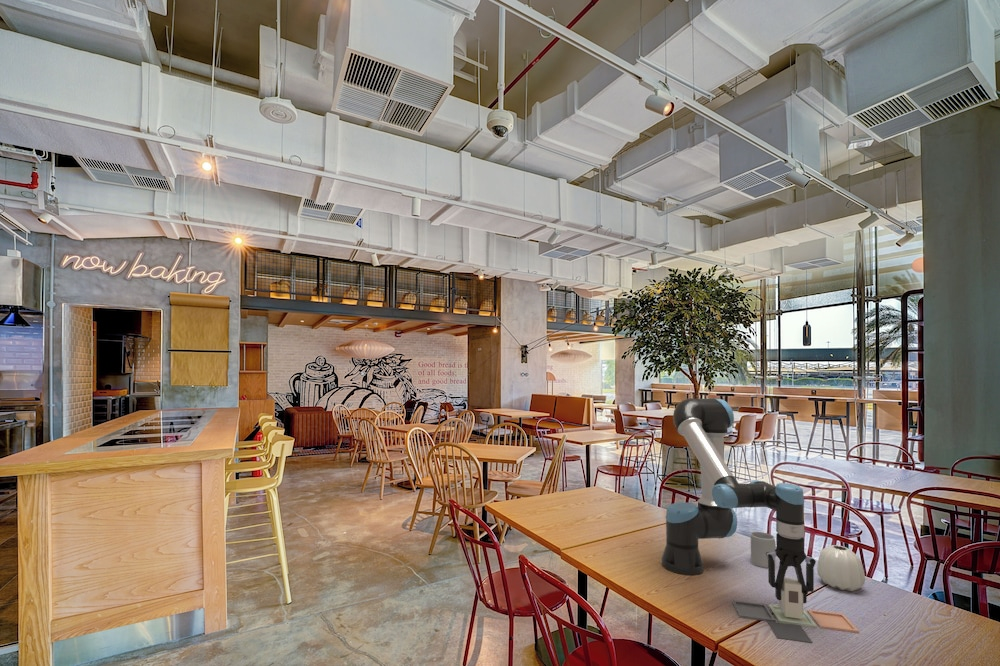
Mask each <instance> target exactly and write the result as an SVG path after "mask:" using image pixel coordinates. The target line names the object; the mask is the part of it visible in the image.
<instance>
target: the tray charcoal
mask: <svg viewBox="0 0 1000 666" xmlns="http://www.w3.org/2000/svg"><path fill="white" fill-rule="evenodd" d="M731 603H732V605H733V607H734V609H735V611H736V613H737V615H738V616H739V618H740V619H747V620H753V621H754V620H755V621H763V622H767V621H770V622H777V619H776V617H775V616H774V614H773V612H772V611H771V609H770V608H769V606H767V604H765V603H759V602H751V601H742V600H736V599H735V600H734V599H732V600H731Z"/></svg>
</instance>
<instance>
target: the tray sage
mask: <svg viewBox="0 0 1000 666" xmlns="http://www.w3.org/2000/svg"><path fill="white" fill-rule="evenodd" d="M768 608H769V610H770V611H771V613H772V615H773V616H774V618H775V619H776V621H778V623H785V624H793V625H800V626H801V627H806V628H816V629H817V628H818V627H817V626H818V624H817V623H816V622H815V621H814V619H813V618H812V617H811V616H810V614H809V613H808V612H807V611H806V610H805V608H803V615H802V619H800V618H792V617H785V615H784V614H783V613H782V612H781V610H780V609H779V605H775V604H768Z"/></svg>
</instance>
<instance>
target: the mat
mask: <svg viewBox="0 0 1000 666" xmlns="http://www.w3.org/2000/svg"><path fill="white" fill-rule="evenodd" d="M766 622H767V624H768V626H769V627H770V629H771V631H772V632H773V634H774V636H775V637H776V639H780V640H786V641H793V642H801V643H809V644H813V641H812V640H811V637H810V636H809V635H808V634H807V632H806V631H805V630H804V628H803V626H800V625H793V624H785V623H779V622H777V621H776V622H770V621H766Z"/></svg>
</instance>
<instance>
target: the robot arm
mask: <svg viewBox="0 0 1000 666" xmlns="http://www.w3.org/2000/svg"><path fill="white" fill-rule="evenodd" d="M672 419H673V425H674V427H675V429H676V431H677V433H678V435H681V436H683V438H684V439H685V441H686V442H687V444H688V446H689V447H690V449H691V451H692V452H693V454H694V455H695V457H696V459H697V460H698V462H699V464H700V480H701V481H700V483H701V497H700V498H698V499H697V504H696V503H693V502H683V501H680V502H679V501H678V502H674V503H670V504H669V505H668V506H667V508H666V512H665V520H666V521H665V523H666V524H665V527H666V528H665V531H666V532H665V533H666V535H665V536H666V537H665V538H666V539H665V541H666V543H665V547H664V549H663V553H662V556H661V565H662V567H663V568H664V569H667V570H668V571H670V572H673V573H675V574H680V575H686V576H687V575H688V576H689V575H692V576H694V575H699V574H701V573H704V562H703V559H702V555H701V552H700V549H699V540H702V539H703V540H705V539H707V540H709V539H724V538H730V537H732V536H733V535H734V534H735V533H736V530H737V528H738V517H737V515H736V511H735V510H734V509H739V508H768V509H771V510H773V511H775V515H776V516H775V519H776V521H775V524H776V525H775V530H776V531H775V532H776V535H775V537H776V539H775V543H776V549H775V552H772V553H769V552H766V556H767V558H768V568H767V570H768V572H767V574H768V584H769V585H770V586H771V587H772V588H774V589H775V599H776V600H778V606H779V609H780V610H781V612H782V613H785V612H784V590H783V589H782V585H783V581H784V577H786V573H787V570H788V567H793V568H794V570H795V576H796V579H797V580H798V582H799V583H800V584H801V587H802V615H803V609H804V604H807V596H808V594H809V592H810V593H812V592H814V587H815V586H814V583H815V582H814V575H815V574H814V573H815V572H814V571H815V570H814V569H815V568H814V567H815V565H816V563H817V561H816V560H815V558H813V557H812V556H811V555H810V556H808V555H806V552H805V538H804V537H805V499H804V490H803V488H802V487H801V486H799V485H797V484H792V483H788V482H787V483H785V482H781V483H780V482H779V483H777V484H776V485H773V484H771V483H769V482H766V481H764V480H759V479H756V480H752V481H751V482H749V483H739V482H738V481H737V479H736V477H735V476H734V474H733V473H732V471H731V470H730V468H729V466H728V465H727V464H726V462H725V446H724V445H725V443H724V441H725V440H724V437H725V436H727V434H728V429H729V428H731V427H732V426H733V424H734V421H735V416H734V411H733V409H732V407H731V405H729V403H728V402H727V401H726V400H724V399H721V398H715V397H713V398H710V397H709V398H692V397H691V398H685V399H683V400H681V401H680V402H678V404H677V405H676V406H675V408H674V410H673V416H672ZM776 558H778V560H779V564H778V565H779V566H778V570H777V574H776V562H775V563H774V560H775V561H776ZM803 562H805V578H804V575H803V569H802V566H801V564H803Z"/></svg>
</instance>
